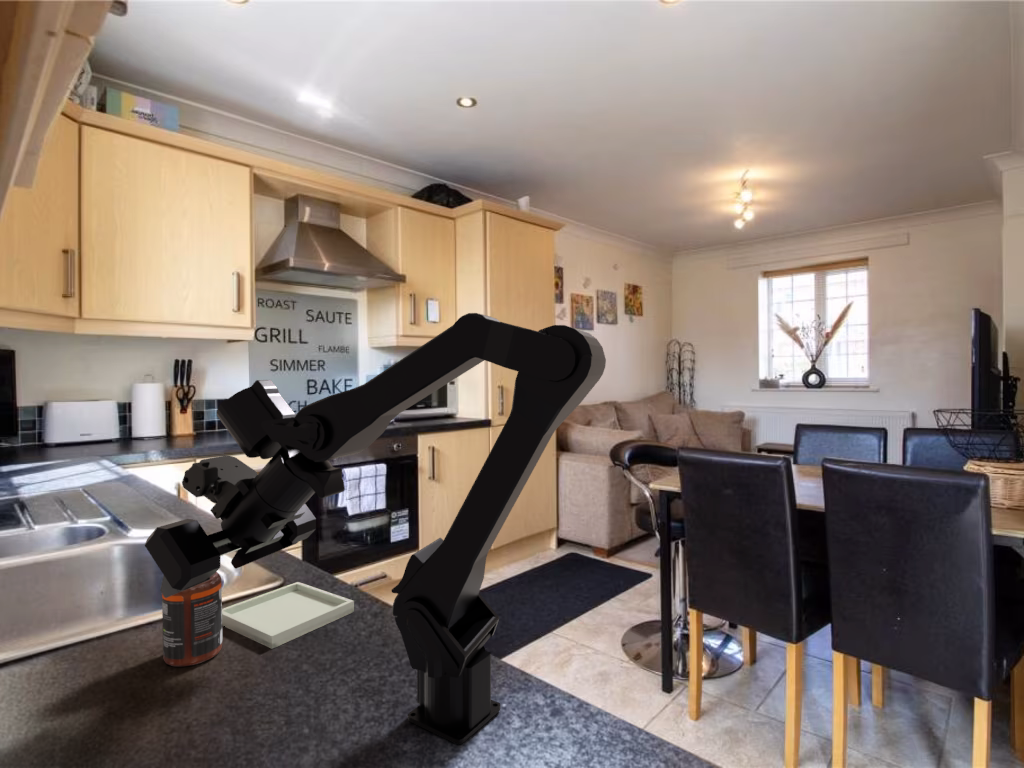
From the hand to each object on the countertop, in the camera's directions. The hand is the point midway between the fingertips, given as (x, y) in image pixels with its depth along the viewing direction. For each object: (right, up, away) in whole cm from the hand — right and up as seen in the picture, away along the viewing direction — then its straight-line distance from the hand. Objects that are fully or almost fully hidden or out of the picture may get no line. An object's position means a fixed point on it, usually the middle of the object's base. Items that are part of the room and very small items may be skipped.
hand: (201, 578), depth 63 cm
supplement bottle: (-1, -9, +1) cm, 9 cm away
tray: (+5, -9, +11) cm, 15 cm away
